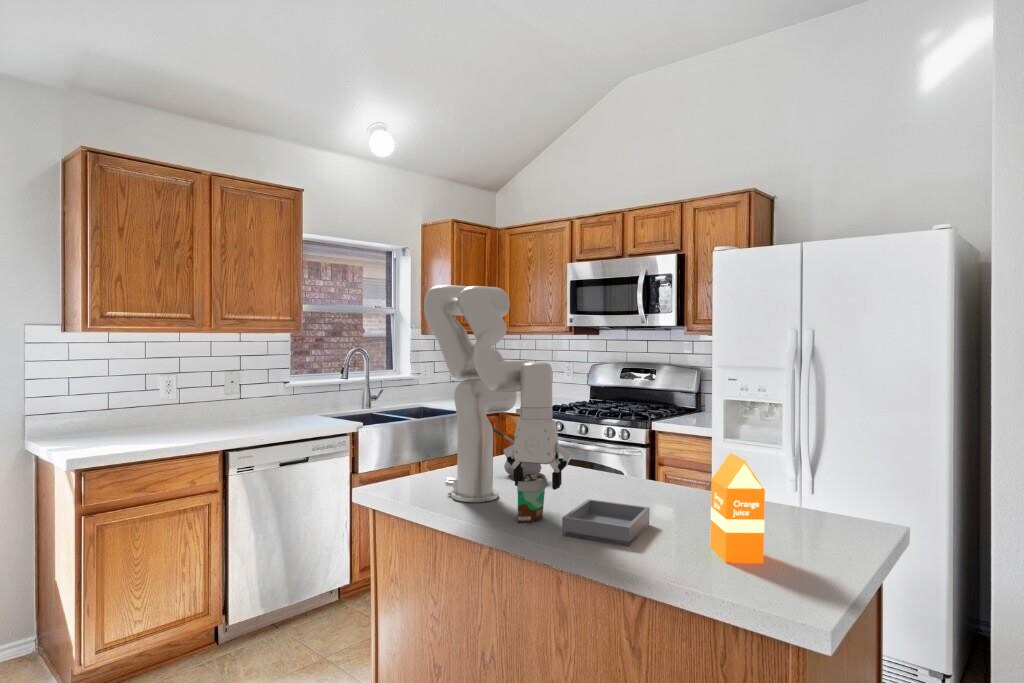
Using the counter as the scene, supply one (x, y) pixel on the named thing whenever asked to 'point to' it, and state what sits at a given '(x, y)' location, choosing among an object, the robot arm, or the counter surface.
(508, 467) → the coffee pot
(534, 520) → the food container
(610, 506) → the grey bin
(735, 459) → the orange juice
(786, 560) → the counter surface
